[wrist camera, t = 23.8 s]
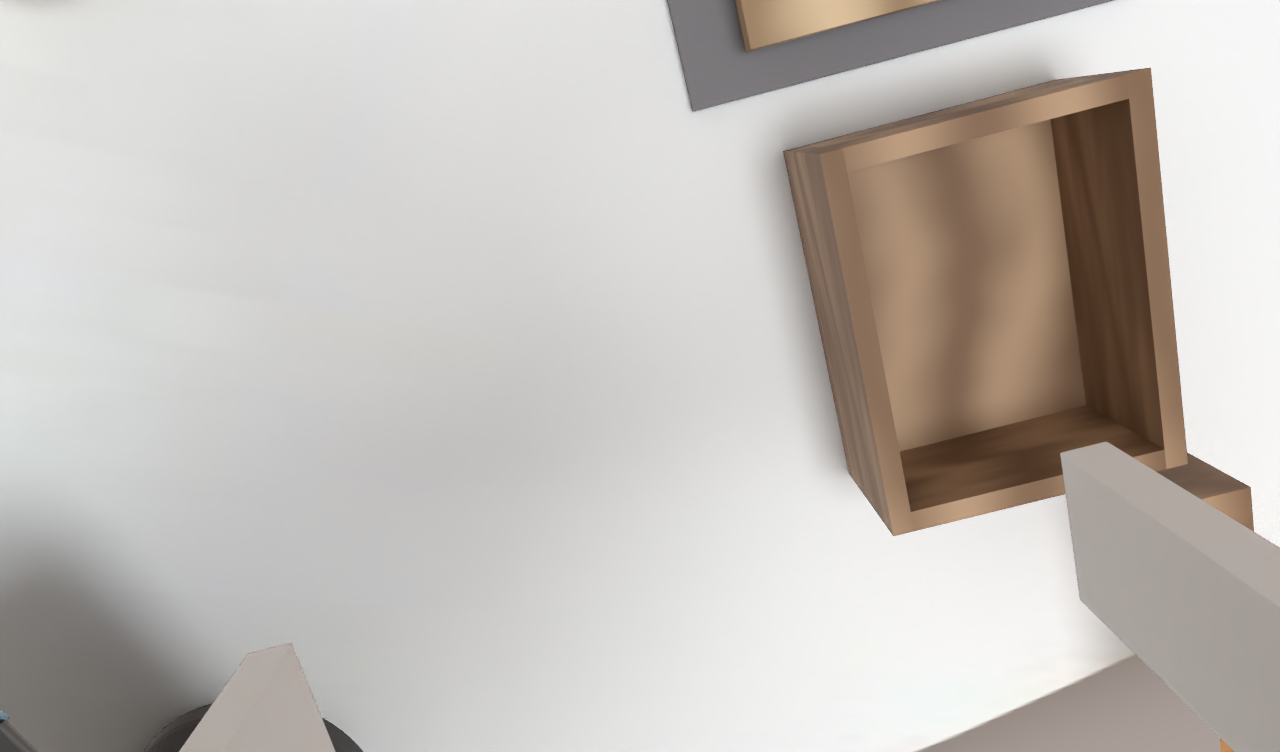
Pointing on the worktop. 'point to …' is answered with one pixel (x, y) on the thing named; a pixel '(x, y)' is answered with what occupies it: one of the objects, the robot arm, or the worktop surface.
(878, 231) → the open wooden box
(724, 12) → the mat
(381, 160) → the worktop surface
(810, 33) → the lid
